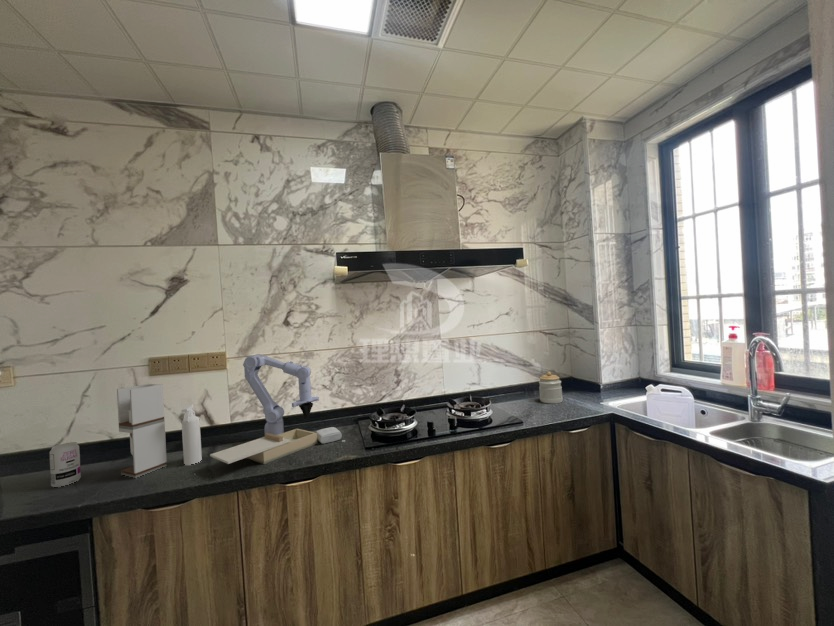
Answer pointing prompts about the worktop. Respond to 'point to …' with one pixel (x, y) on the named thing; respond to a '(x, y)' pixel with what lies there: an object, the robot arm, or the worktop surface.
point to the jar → (550, 389)
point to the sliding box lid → (249, 448)
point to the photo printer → (328, 435)
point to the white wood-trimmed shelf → (143, 427)
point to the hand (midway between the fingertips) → (306, 418)
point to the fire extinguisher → (191, 436)
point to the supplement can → (65, 464)
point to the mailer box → (287, 446)
